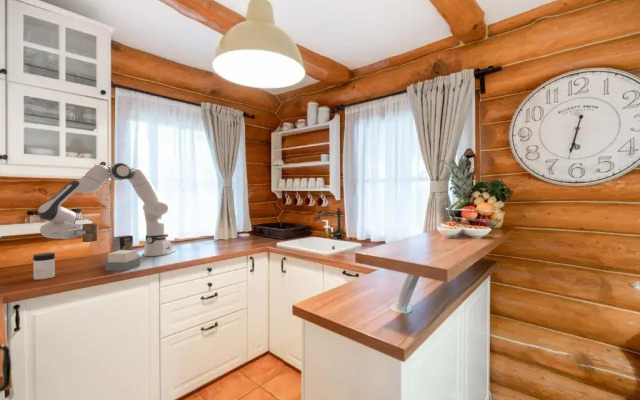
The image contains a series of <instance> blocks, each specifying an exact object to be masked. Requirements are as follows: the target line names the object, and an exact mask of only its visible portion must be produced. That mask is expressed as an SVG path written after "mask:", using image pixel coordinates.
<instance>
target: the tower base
mask: <svg viewBox="0 0 640 400" xmlns="http://www.w3.org/2000/svg"><path fill="white" fill-rule="evenodd" d="M137 267H141V257H140V258H139V257H137V259H134V260H131V261H128V262H108V261H105V262H104V271H106V270H107V271H111V272H112V271H114V272H126V271H129V270H132V269H135V268H137Z"/></svg>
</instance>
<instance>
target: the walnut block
mask: <svg viewBox="0 0 640 400" xmlns="http://www.w3.org/2000/svg"><path fill="white" fill-rule="evenodd" d="M81 224H82V231H87V234H82V236H81V237H82V243H92V242H97V241H98V232H97V226H98V223H91V222H90V223H89V222H88V223H81Z"/></svg>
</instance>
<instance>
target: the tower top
mask: <svg viewBox="0 0 640 400" xmlns="http://www.w3.org/2000/svg"><path fill="white" fill-rule="evenodd" d="M137 256H138V249H133V250H119V251H115V252H113V251H112V252H108V253H107V262H128V261H131V260H134V259H137V258H138V257H137Z"/></svg>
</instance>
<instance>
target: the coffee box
mask: <svg viewBox="0 0 640 400" xmlns="http://www.w3.org/2000/svg"><path fill="white" fill-rule="evenodd" d="M133 238H134V236H133V235H121V236H120V235H119V236H114V237H112V252H115V251H119V250H134V248H133V247H134V246H133V245H134V241H133V240H134V239H133Z"/></svg>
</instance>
